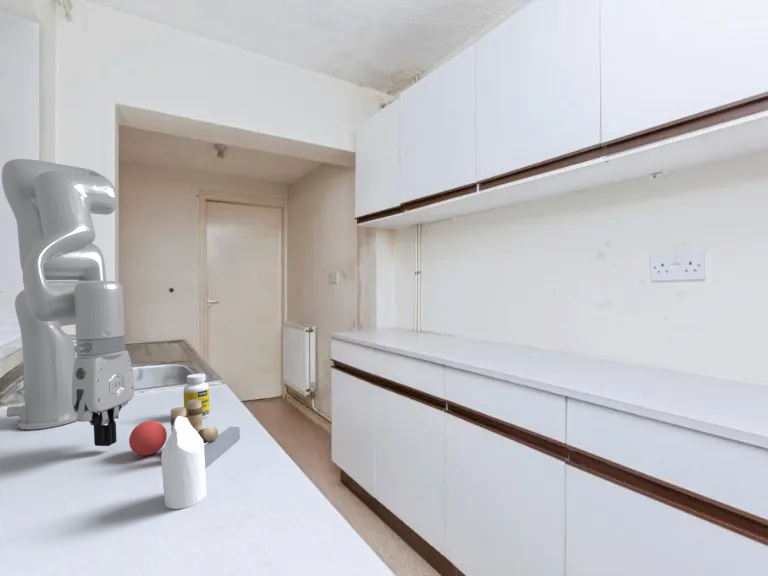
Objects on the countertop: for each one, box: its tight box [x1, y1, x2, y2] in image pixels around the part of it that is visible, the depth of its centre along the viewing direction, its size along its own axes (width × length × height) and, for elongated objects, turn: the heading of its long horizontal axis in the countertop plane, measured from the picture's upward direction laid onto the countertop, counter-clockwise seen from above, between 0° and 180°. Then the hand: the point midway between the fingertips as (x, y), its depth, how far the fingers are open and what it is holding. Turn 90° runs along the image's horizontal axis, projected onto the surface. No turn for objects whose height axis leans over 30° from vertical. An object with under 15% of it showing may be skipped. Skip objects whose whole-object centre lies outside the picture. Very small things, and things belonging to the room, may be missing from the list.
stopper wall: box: [204, 426, 241, 469], centre depth 75 cm, size 2×14×2 cm, turn 173°
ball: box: [128, 420, 168, 457], centre depth 75 cm, size 6×6×6 cm
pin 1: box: [170, 406, 187, 433], centre depth 73 cm, size 2×2×9 cm
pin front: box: [197, 425, 219, 444], centre depth 75 cm, size 2×2×9 cm
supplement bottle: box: [183, 373, 210, 420], centre depth 96 cm, size 5×5×10 cm
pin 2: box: [187, 399, 203, 431], centre depth 78 cm, size 2×2×9 cm
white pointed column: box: [160, 416, 207, 510], centre depth 59 cm, size 6×12×6 cm
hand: (105, 444), depth 77 cm, fingers closed
